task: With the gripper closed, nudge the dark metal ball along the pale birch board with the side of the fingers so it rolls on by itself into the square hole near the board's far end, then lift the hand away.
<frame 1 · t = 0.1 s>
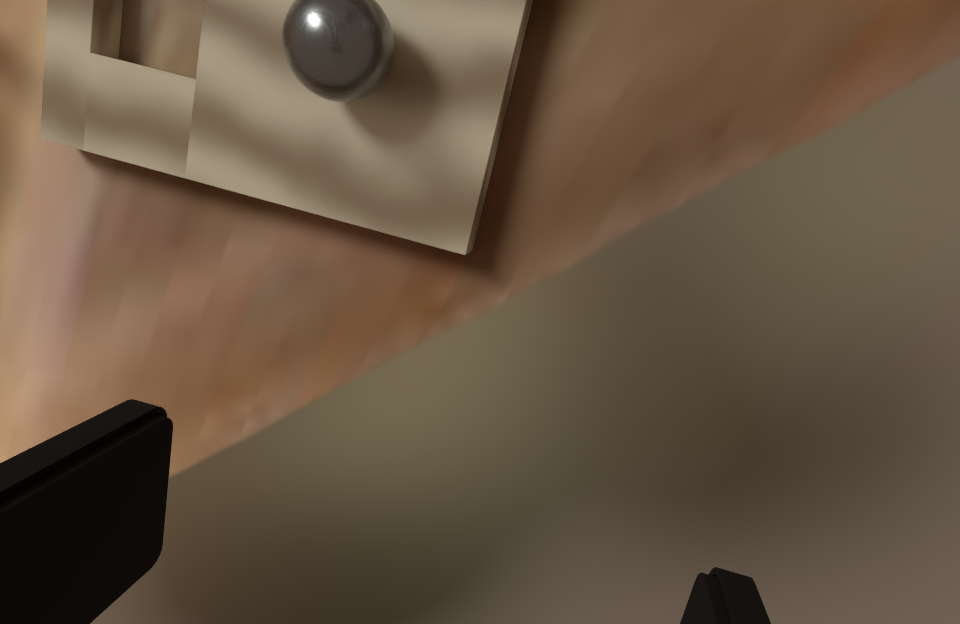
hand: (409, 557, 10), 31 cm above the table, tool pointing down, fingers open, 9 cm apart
runway board: (286, 39, 40), on the table
ball: (339, 44, 34), point 5 cm above the table, touching runway board
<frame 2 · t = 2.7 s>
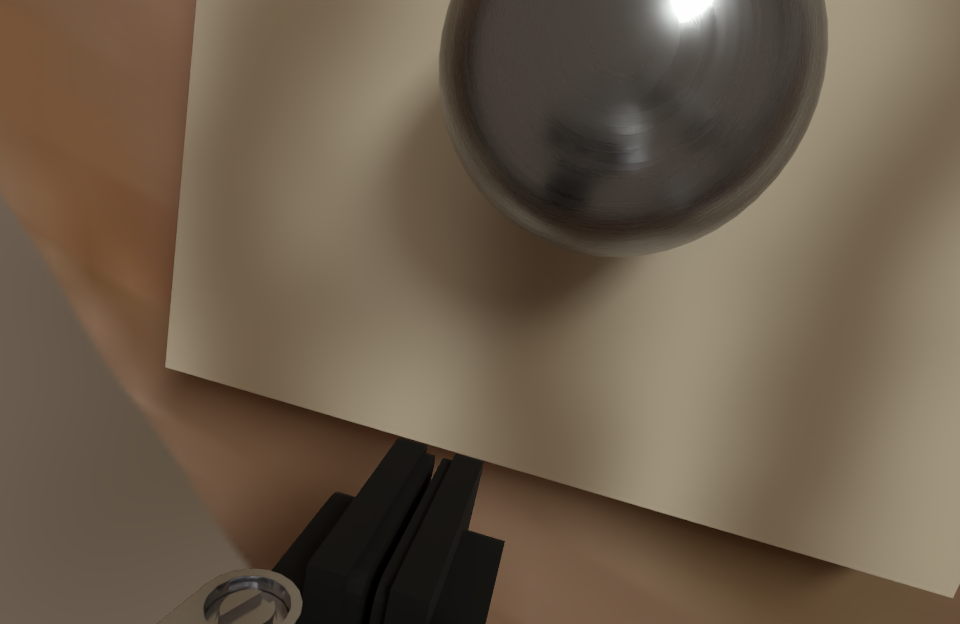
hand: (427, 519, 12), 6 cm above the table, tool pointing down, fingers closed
ball: (620, 75, 10), point 5 cm above the table, touching runway board
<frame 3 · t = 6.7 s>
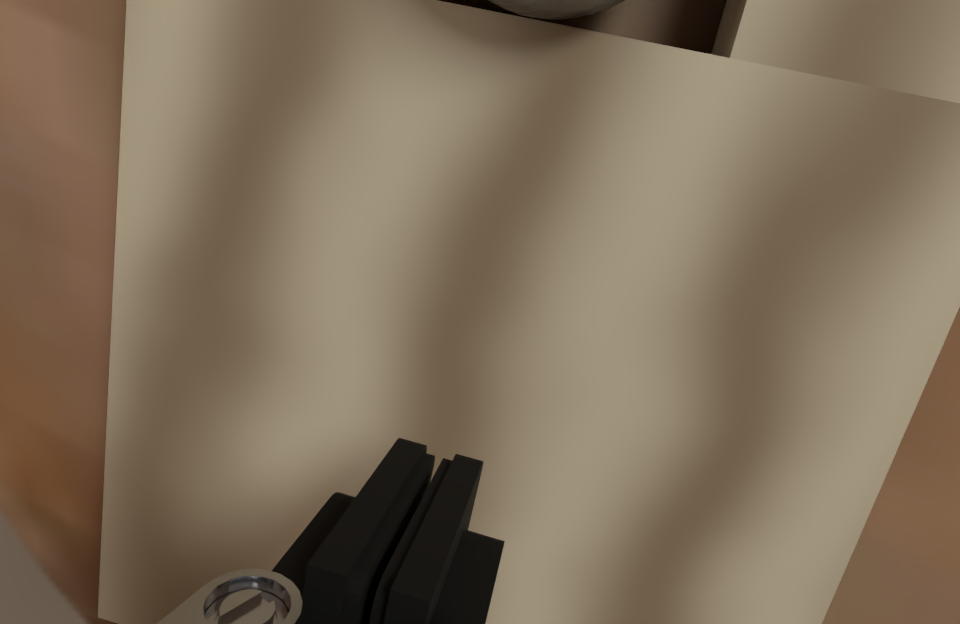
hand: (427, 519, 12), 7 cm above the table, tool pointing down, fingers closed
runway board: (521, 208, 17), on the table
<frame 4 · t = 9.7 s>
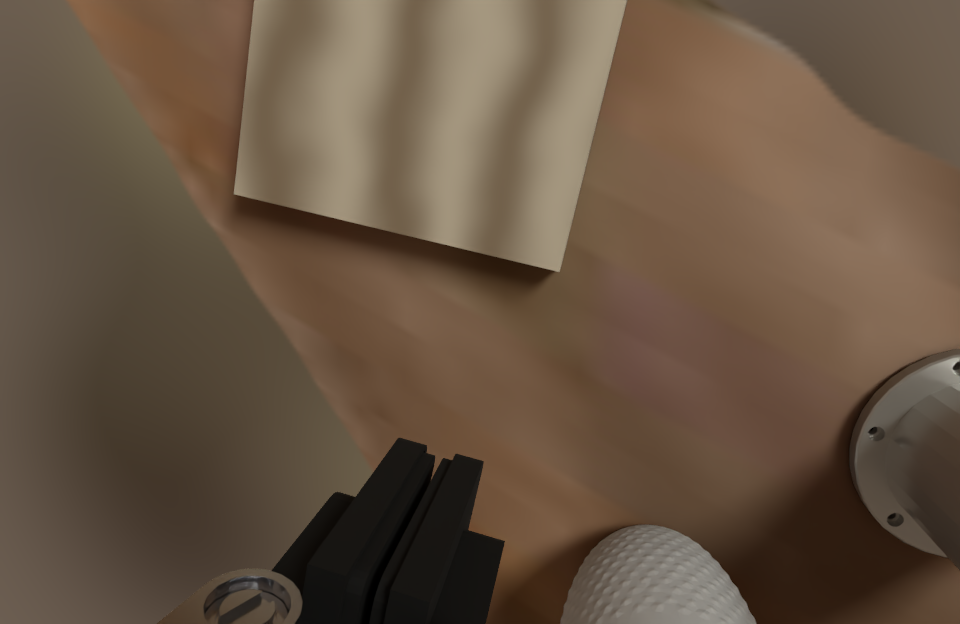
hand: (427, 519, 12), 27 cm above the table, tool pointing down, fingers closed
mug: (655, 580, 41), on the table
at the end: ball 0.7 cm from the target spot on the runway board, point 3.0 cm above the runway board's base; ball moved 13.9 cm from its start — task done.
